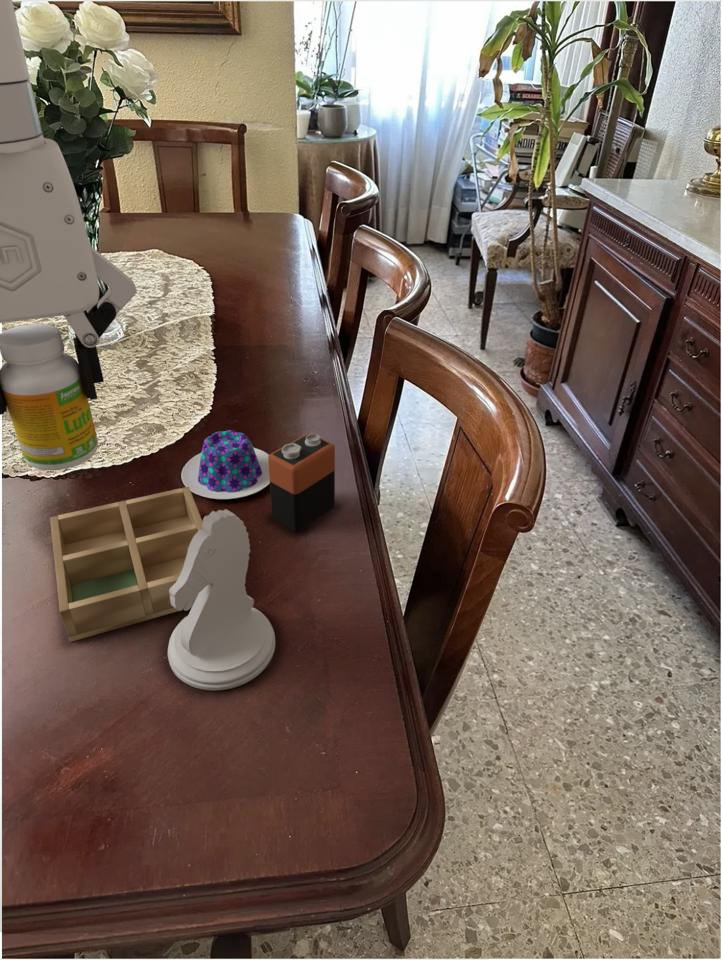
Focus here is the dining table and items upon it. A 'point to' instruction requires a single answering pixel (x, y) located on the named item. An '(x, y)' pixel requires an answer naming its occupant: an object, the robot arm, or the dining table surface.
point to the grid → (121, 560)
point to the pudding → (227, 467)
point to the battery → (302, 481)
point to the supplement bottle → (46, 398)
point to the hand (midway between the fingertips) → (46, 396)
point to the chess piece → (218, 610)
